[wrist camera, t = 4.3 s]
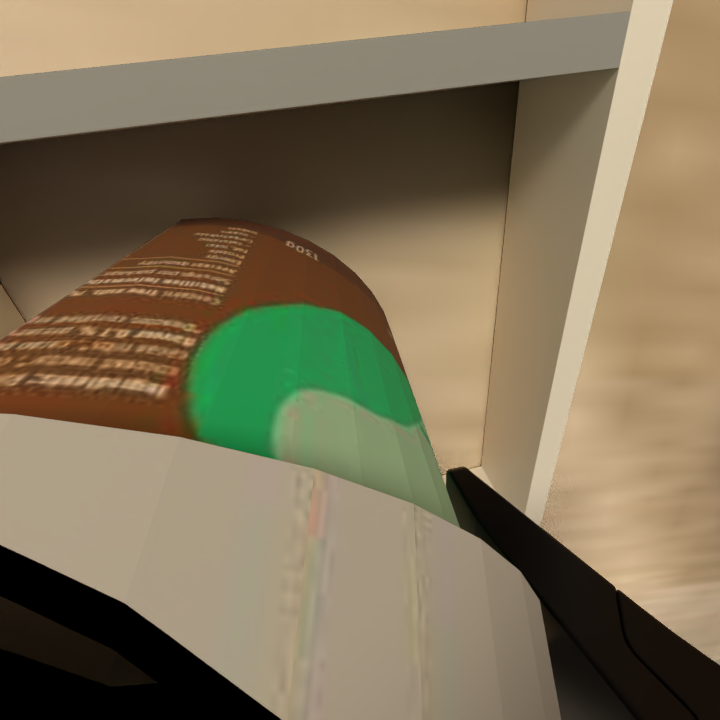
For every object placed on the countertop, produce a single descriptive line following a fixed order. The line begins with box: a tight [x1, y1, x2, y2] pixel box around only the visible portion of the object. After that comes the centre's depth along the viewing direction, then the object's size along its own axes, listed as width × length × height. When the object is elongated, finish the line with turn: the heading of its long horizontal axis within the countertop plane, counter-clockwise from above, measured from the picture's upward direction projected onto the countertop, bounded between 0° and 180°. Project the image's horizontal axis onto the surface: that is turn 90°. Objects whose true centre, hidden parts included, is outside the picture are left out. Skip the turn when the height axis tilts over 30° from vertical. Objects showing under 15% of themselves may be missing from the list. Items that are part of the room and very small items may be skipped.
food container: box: [0, 218, 561, 720], centre depth 8 cm, size 12×6×10 cm, turn 7°
